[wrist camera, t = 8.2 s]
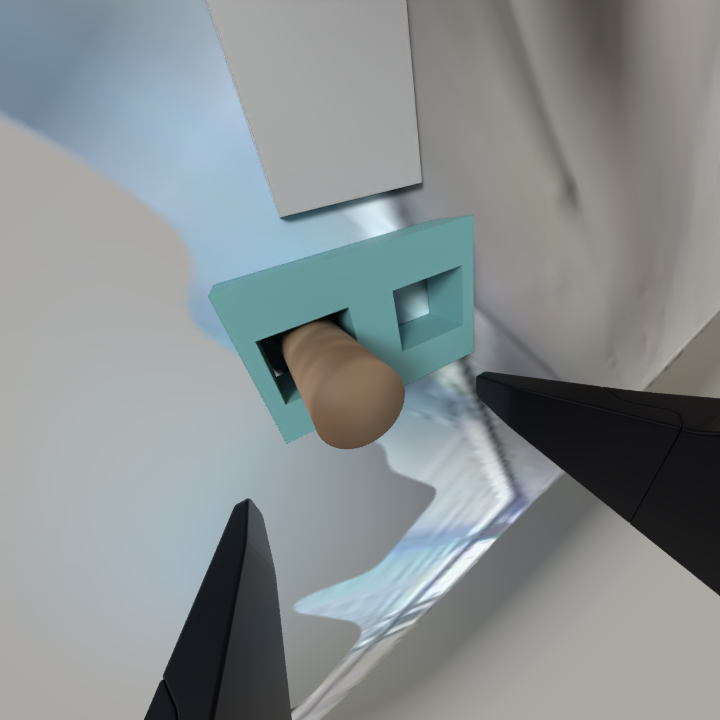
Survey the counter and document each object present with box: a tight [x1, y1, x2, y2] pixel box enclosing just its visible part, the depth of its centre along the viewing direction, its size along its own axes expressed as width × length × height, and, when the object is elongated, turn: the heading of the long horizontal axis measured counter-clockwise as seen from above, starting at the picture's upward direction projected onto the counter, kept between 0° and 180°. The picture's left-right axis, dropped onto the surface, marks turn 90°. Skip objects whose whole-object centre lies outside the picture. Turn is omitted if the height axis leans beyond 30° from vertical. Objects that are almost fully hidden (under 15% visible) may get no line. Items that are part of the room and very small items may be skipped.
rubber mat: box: [206, 0, 422, 218], centre depth 14 cm, size 10×10×1 cm
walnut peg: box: [277, 316, 405, 449], centre depth 14 cm, size 4×4×10 cm
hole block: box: [208, 215, 474, 443], centre depth 18 cm, size 16×10×4 cm, turn 105°
